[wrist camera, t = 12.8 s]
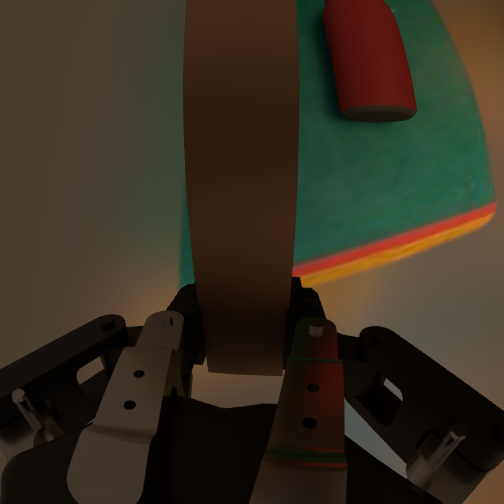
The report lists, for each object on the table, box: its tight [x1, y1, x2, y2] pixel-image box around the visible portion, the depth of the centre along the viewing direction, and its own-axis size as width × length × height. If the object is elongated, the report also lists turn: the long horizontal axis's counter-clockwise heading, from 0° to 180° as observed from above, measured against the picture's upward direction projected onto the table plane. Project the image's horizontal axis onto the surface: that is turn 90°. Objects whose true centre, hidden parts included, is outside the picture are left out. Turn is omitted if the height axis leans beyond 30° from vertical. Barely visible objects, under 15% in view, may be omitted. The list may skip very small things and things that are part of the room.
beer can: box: [323, 0, 417, 122], centre depth 16 cm, size 7×7×12 cm
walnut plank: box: [183, 0, 299, 376], centre depth 8 cm, size 18×3×4 cm, turn 0°
